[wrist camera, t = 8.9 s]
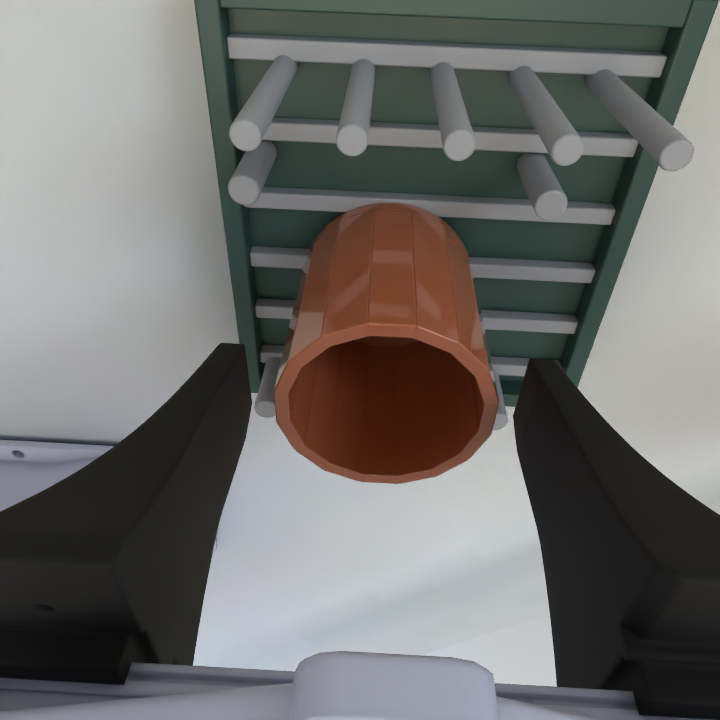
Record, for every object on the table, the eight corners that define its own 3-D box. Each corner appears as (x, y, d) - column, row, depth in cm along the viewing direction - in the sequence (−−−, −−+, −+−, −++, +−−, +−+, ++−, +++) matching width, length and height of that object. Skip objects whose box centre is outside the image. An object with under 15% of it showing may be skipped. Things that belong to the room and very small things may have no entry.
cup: (307, 341, 20) (280, 477, 16) (301, 197, 17) (266, 318, 12) (459, 349, 20) (477, 489, 16) (484, 205, 17) (518, 331, 12)
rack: (253, 365, 23) (215, 496, 18) (208, -32, 14) (113, 14, 10) (560, 381, 23) (605, 519, 18) (692, -12, 14) (845, 45, 9)
